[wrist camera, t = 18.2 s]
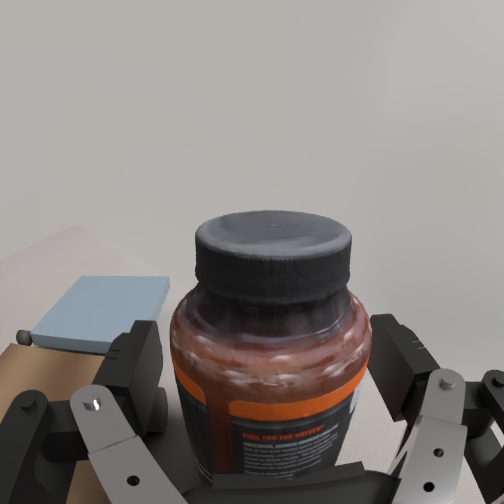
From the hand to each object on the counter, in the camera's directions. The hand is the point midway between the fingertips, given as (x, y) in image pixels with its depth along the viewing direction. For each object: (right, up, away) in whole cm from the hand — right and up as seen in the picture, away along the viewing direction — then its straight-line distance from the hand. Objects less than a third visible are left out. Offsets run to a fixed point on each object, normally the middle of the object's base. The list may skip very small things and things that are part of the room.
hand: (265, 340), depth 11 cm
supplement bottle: (0, -7, +1) cm, 7 cm away
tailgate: (-11, -2, +5) cm, 12 cm away
